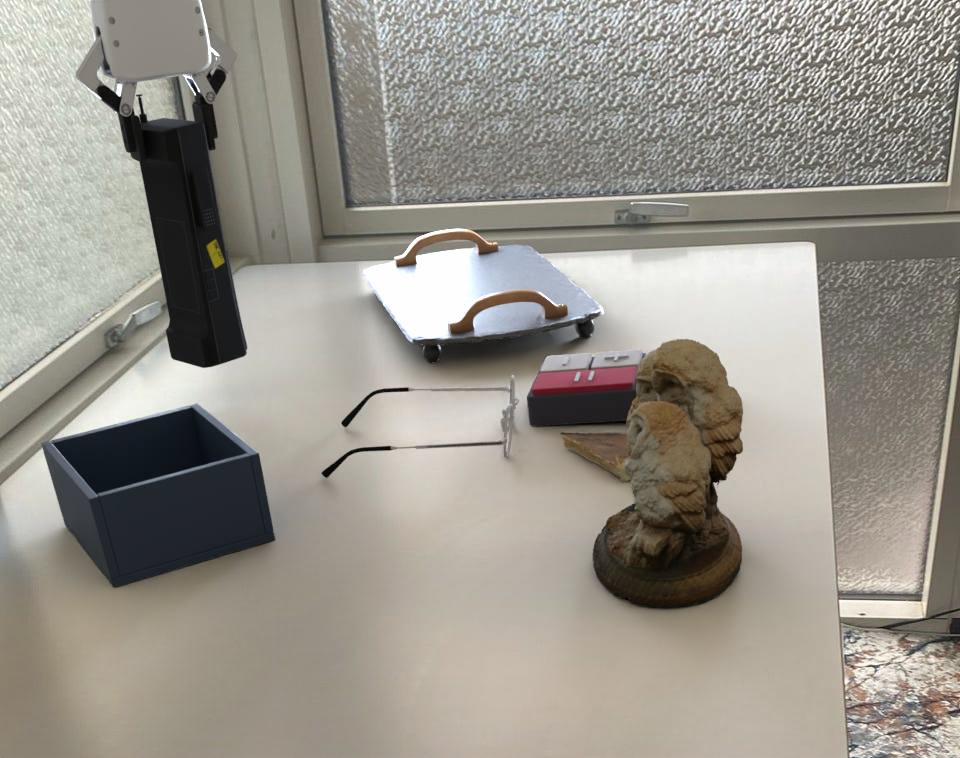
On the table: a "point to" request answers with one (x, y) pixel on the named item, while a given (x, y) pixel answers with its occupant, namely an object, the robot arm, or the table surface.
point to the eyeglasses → (507, 415)
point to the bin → (159, 493)
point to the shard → (601, 450)
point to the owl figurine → (675, 483)
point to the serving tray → (477, 293)
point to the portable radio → (190, 243)
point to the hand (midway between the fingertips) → (173, 152)
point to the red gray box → (584, 388)
